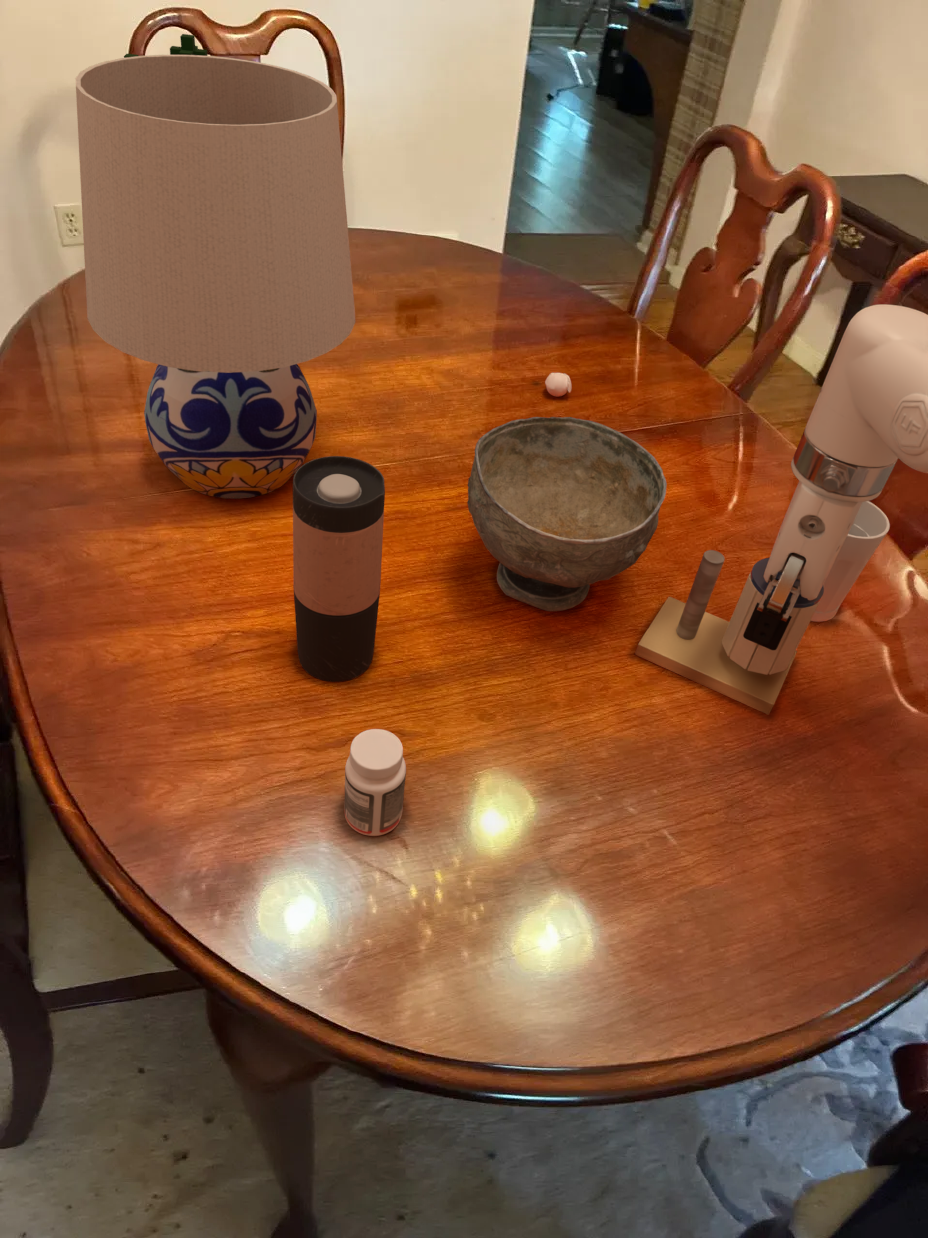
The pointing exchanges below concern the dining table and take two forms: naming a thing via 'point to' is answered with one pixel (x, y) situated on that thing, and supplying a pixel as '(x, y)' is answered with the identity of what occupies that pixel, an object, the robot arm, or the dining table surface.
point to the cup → (852, 558)
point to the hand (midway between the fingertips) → (771, 618)
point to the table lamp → (216, 253)
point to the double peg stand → (705, 644)
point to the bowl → (562, 506)
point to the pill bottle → (374, 782)
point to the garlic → (558, 384)
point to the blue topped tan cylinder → (733, 639)
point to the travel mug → (337, 564)
